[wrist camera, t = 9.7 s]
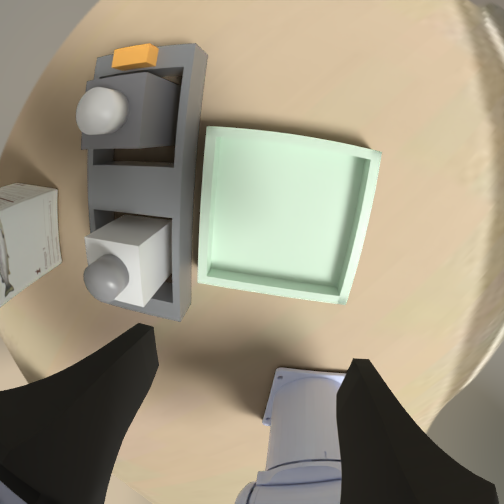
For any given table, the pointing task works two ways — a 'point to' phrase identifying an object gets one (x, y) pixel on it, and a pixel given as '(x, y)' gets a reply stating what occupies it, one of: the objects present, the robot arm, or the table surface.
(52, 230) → the supplement box
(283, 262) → the tray
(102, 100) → the plug
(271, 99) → the table surface
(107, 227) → the twin plug
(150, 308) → the power strip
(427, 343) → the table surface
